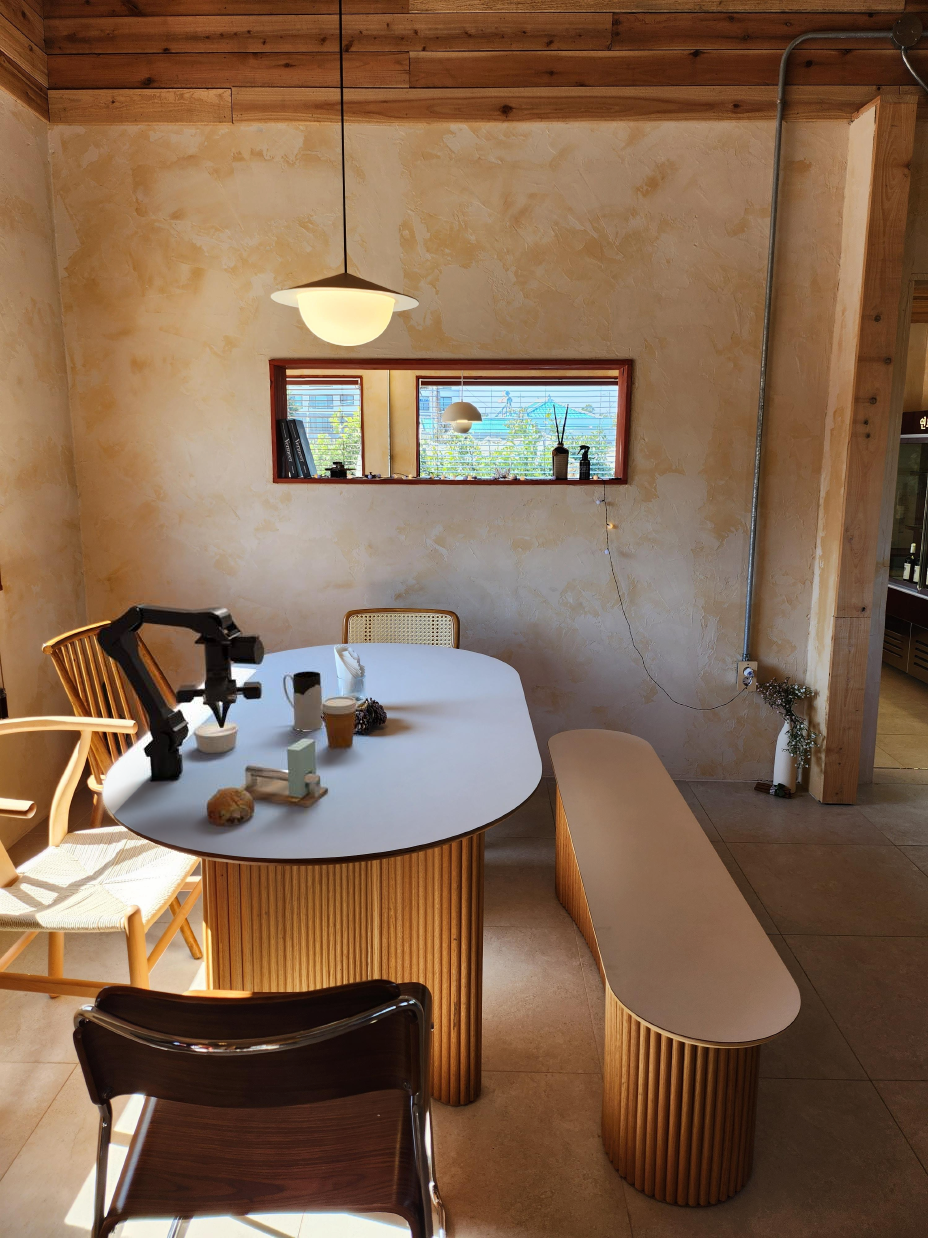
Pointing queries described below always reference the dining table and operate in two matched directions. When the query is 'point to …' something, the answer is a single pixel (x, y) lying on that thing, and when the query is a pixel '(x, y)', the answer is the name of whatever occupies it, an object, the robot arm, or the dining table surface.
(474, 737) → the dining table surface
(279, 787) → the walnut board
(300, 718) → the black and white mug
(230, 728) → the ramekin
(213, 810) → the bread roll
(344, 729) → the disposable coffee cup
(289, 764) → the sage green slotted block
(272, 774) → the grey metal pipe
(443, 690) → the dining table surface
